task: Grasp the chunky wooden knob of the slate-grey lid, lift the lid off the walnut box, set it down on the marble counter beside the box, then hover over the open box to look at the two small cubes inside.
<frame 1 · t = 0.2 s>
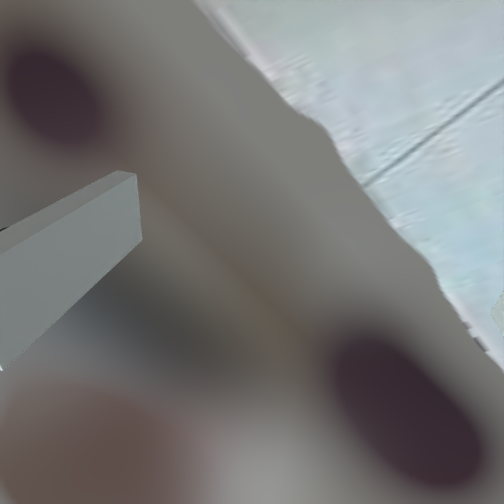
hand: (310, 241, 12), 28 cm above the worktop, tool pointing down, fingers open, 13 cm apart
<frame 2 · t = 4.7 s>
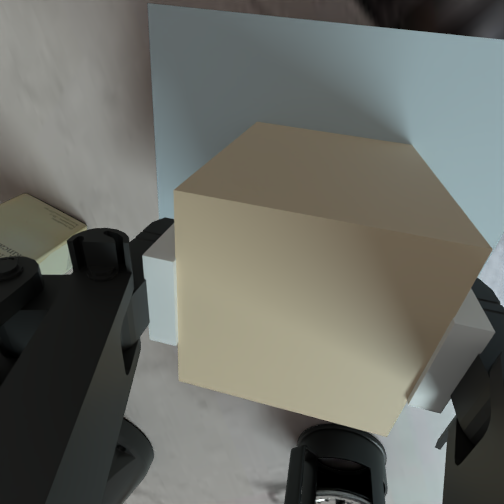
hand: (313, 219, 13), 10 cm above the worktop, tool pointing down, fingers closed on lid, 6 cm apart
lid: (318, 194, 16), point 7 cm above the worktop, touching box, gripper
french press: (337, 445, 37), on the worktop
skincare box: (55, 226, 30), on the worktop
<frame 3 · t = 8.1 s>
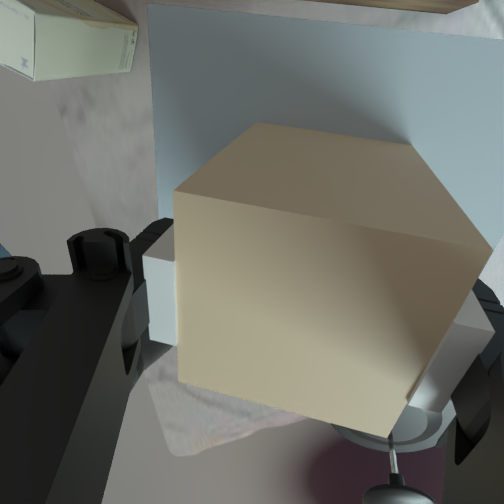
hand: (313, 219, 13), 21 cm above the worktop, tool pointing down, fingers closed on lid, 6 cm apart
lid: (318, 194, 16), point 18 cm above the worktop, touching gripper
french press: (367, 279, 39), on the worktop
skincare box: (106, 35, 32), on the worktop
when the fingers open (4 cm above the worktop, at t = 11.7 s): lid drops 2 cm, on the worktop.
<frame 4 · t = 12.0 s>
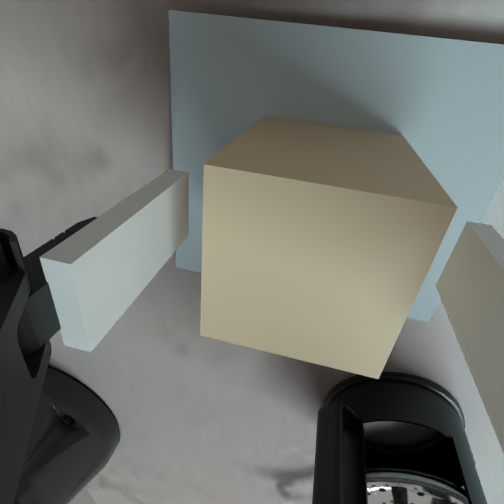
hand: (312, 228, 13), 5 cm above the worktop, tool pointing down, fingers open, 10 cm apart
lid: (319, 181, 17), on the worktop
french press: (384, 410, 24), on the worktop
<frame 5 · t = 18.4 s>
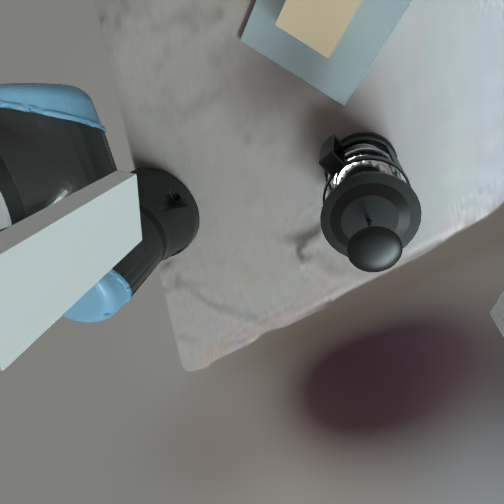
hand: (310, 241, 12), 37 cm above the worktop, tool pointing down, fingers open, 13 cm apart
lid: (323, 16, 38), on the worktop
french press: (357, 165, 46), on the worktop
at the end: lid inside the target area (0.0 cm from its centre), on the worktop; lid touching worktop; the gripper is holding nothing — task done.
